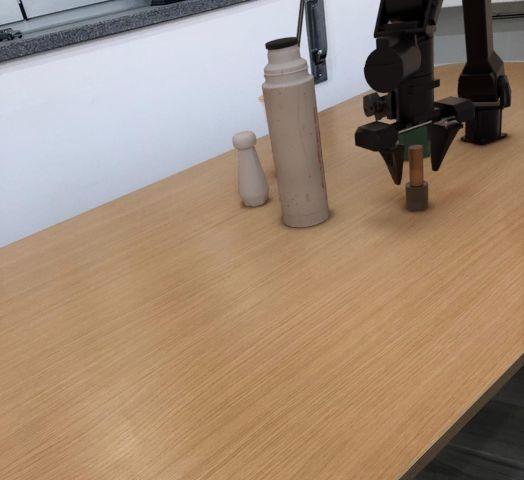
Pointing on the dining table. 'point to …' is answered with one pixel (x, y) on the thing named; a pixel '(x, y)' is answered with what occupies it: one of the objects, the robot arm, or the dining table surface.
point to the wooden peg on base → (416, 181)
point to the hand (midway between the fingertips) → (416, 177)
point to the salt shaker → (250, 170)
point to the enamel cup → (416, 141)
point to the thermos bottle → (294, 134)
